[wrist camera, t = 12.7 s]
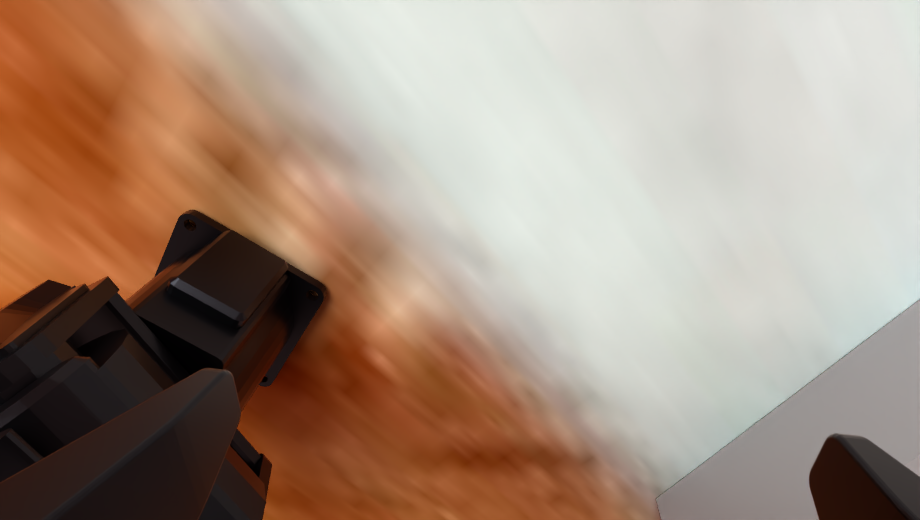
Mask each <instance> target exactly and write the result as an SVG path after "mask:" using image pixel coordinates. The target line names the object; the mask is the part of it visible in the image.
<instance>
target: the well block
mask: <svg viewBox="0 0 920 520" xmlns="http://www.w3.org/2000/svg"><path fill="white" fill-rule="evenodd" d="M833 433H841V434H850V435H859V436H863V437H865V438H867V439H868V440H870V441H871V442H873V443H874V444H876V445H877V446H878V447H880V448H881V449H882V450H884V451H885V452H887V453H888V454H889V455H891V456H892V457H894V458H895V459H896V460H898V461H899V462H900V463H902V464H903V465H905V466H906V467H907V468H909V469H910V470H911V471H913V472H914V473H916V474H917V475H918V476H920V300H919V301H917V302H916V303H915V304H913V305H912V306H911V307H909V308H908V309H907V310H905V311H904V312H903V313H901V314H900V315H899V316H897V317H896V318H895V319H893V320H892V321H891V322H889V323H888V324H887V325H885V326H884V327H883V328H881V329H880V330H879V331H877V332H876V333H875V334H873V335H872V336H871V337H870V338H868V339H867V340H866V341H864V342H863V343H862V344H860V345H859V346H858V347H856V348H855V349H854V350H852V351H851V352H850V353H848V354H847V355H846V356H844V357H843V358H842V359H840V360H839V361H838V362H836V363H835V364H834V365H832V366H831V367H830V368H828V369H827V370H826V371H824V372H823V373H822V374H821V375H819V376H818V377H817V378H815V379H814V380H813V381H811V382H810V383H809V384H807V385H806V386H805V387H803V388H802V389H801V390H799V391H798V392H797V393H795V394H794V395H793V396H791V397H790V398H789V399H787V400H786V401H785V402H783V403H782V404H781V405H779V406H778V407H777V408H775V409H774V410H773V411H772V412H770V413H769V414H768V415H766V416H765V417H764V418H762V419H761V420H760V421H758V422H757V423H756V424H754V425H753V426H752V427H750V428H749V429H748V430H746V431H745V432H744V433H742V434H741V435H740V436H738V437H737V438H736V439H734V440H733V441H732V442H730V443H729V444H728V445H726V446H725V447H724V448H723V449H721V450H720V451H719V452H717V453H716V454H715V455H713V456H712V457H711V458H709V459H708V460H707V461H705V462H704V463H703V464H701V465H700V466H699V467H697V468H696V469H695V470H693V471H692V472H691V473H689V474H688V475H687V476H685V477H684V478H683V479H681V480H680V481H679V482H677V483H676V484H675V485H674V486H672V487H671V488H670V489H668V490H667V491H666V492H664V493H663V494H662V495H660V496H659V497H658V498H656V501H657V505H658V509H659V513H660V517H661V520H819V518H818V515H817V511H816V508H815V505H814V501H813V498H812V494H811V491H810V487H809V474H810V470H811V468H812V466H813V464H814V462H815V460H816V458H817V455H818V453H819V451H820V449H821V447H822V445H823V443H824V441H825V439H826V438H827V437H828V436H829V435H831V434H833Z"/></svg>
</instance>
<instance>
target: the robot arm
mask: <svg viewBox="0 0 920 520" xmlns="http://www.w3.org/2000/svg"><path fill="white" fill-rule="evenodd" d="M189 219H190V220H192V221H193V222H195V224H196V227H195V226H193V225H192V224H191V223H190V221H189ZM310 290H313V291H315V292H316V293H317V294H318V296H315V295H312V294H311V293H310ZM118 291H119V288H118V287H117V286H116V285H115V284H114V283H113V282H112V280H111V279H110V278H109V277H108V276H107V277H105V278H103V279H101V280H99V281H97V282H95V283H93V284H91V285H89V286H86V284H82V285H80V286H78V287H76V286H73V287H70V286H67V285H64V284H61V283H58V282H54V281H51V280H47V281H45V282H44V283H42V284H40V285H38V286H36V287H35V288H33V289H31V290H30V291H28V292H27V293H25V294H24V295H22V296H20V297H19V298H17V299H16V300H14V301H12V302H11V303H9V304H8V305H6V306H5V307H3V308H1V309H0V520H262V519H263V514H264V508H265V504H266V497H267V491H268V485H269V479H270V474H271V468H272V464H271V462H270V461H269V460H268V459H267V458H266V457H265V456H264V454H259V453H258V452H257V451H256V450H255V449H254V448H253V446H252V445H251V444H250V443H249V442H248V441H247V440H246V438H245V437H244V436H243V435H242V434H241V433H240V432H239V431H238V429H237V426H238V424H239V420H240V415H241V411H242V410H243V408H244V407H245V405H246V404H247V402H248V401H249V399H250V398H251V396H252V394H253V393H254V391H255V390H256V388H257V387H258V385H260V386H265V387H267V386H270V385H271V384H272V383H273V381H274V379H275V378H276V376H277V375H278V373H279V371H280V370H281V368H282V366H283V365H284V363H285V362H286V360H287V358H288V357H289V355H290V354H291V352H292V350H293V349H294V347H295V346H296V344H297V342H298V341H299V339H300V337H301V336H302V334H303V333H304V331H305V329H306V328H307V326H308V325H309V323H310V321H311V320H312V318H313V317H314V315H315V313H316V312H317V310H318V308H319V307H320V305H321V304H322V302H323V300H324V299H325V297H326V295H327V290H326V288H325V286H324V285H323V284H322V283H321V282H319V281H317V280H316V279H314V278H312V277H310V276H309V275H307V274H305V273H304V272H302V271H300V270H298V269H297V268H295V267H293V266H292V265H290V264H288V263H286V262H285V261H284V260H283V259H281V258H279V257H277V256H276V255H274V254H272V253H271V252H269V251H267V250H265V249H264V248H262V247H260V246H259V245H257V244H255V243H253V242H252V241H250V240H248V239H247V238H245V237H243V236H241V235H240V234H238V233H236V232H235V231H232V230H230V229H228V228H226V227H225V226H223V225H221V224H219V223H218V222H216V221H214V220H212V219H211V218H209V217H207V216H206V215H204V214H202V213H200V212H198V211H196V210H189V211H186V212H185V213H183V214H182V215H181V216H180V217H179V218H178V221H177V223H176V225H175V228H174V230H173V233H172V235H171V238H170V240H169V243H168V245H167V247H166V250H165V252H164V255H163V257H162V260H161V262H160V265H159V267H158V269H157V272H156V274H155V277H154V278H153V279H152V280H151V281H149V282H148V283H147V284H146V285H144V286H143V287H142V288H141V289H140V290H138V291H137V292H136V293H135V294H133V295H132V296H131V297H130V298H128V299H127V300H126V301H124V300H123V298H122V297H121V296H120V295H119V294H118V293H117V292H118ZM265 376H267V377H265ZM809 487H810V491H811V494H812V498H813V501H814V505H815V508H816V511H817V515H818V518H819V520H920V476H918V475H917V474H916V473H914V472H913V471H911V470H910V469H909V468H907V467H906V466H905V465H903V464H902V463H900V462H899V461H898V460H896V459H895V458H894V457H892V456H891V455H889V454H888V453H887V452H885V451H884V450H882V449H881V448H880V447H878V446H877V445H876V444H874V443H873V442H871V441H870V440H868V439H867V438H865V437H863V436H859V435H850V434H841V433H833V434H831V435H829V436H828V437H827V438H826V439H825V441H824V443H823V445H822V447H821V449H820V451H819V453H818V455H817V458H816V460H815V462H814V464H813V466H812V468H811V470H810V474H809Z"/></svg>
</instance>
